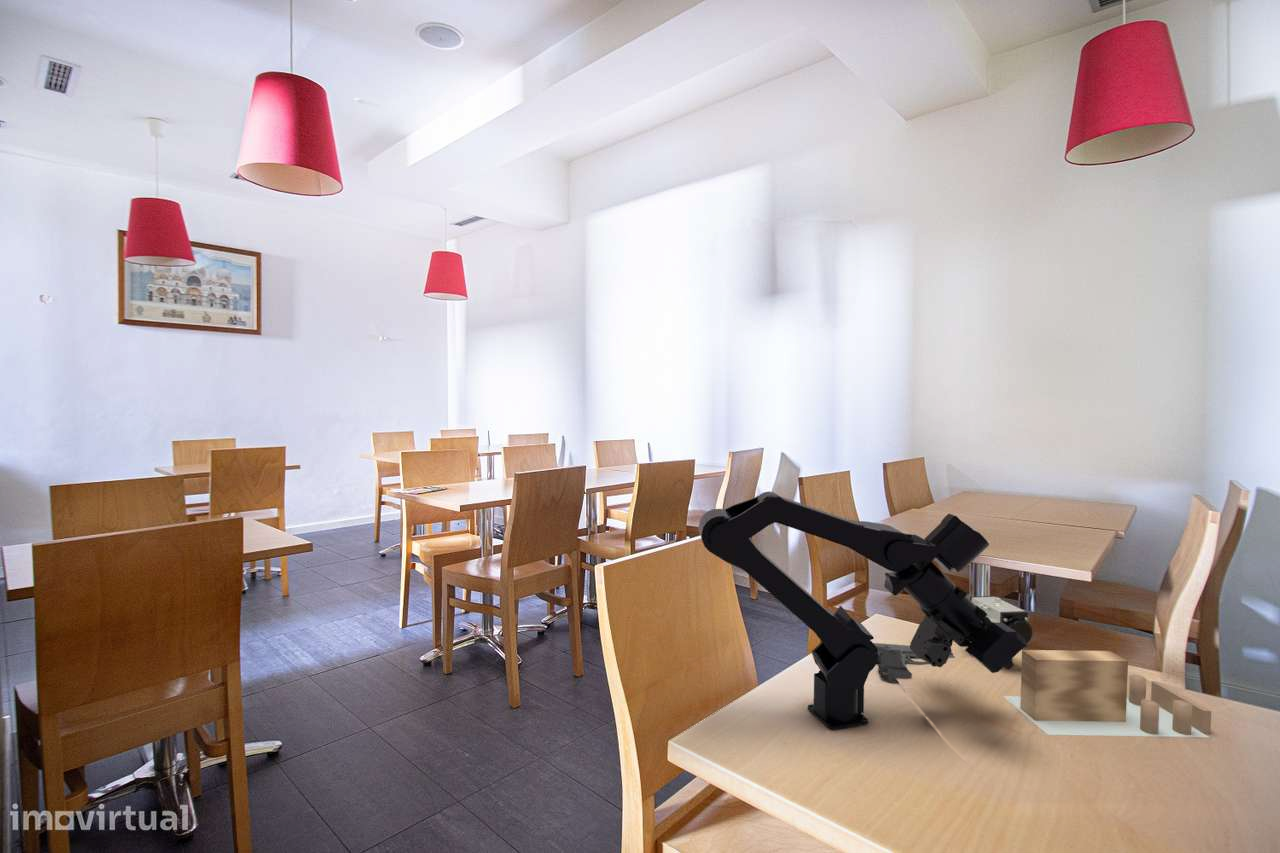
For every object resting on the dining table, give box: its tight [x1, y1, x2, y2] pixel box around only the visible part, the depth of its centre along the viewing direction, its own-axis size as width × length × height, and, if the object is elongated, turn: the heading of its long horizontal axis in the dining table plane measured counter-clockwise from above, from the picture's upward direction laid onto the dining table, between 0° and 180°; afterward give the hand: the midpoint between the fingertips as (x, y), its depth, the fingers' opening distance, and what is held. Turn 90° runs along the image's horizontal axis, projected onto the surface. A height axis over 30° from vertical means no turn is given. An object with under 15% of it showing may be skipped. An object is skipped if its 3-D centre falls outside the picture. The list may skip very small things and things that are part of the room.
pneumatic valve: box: [969, 595, 1033, 648], centre depth 109 cm, size 6×12×12 cm, turn 6°
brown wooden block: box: [1020, 649, 1129, 722], centre depth 90 cm, size 13×4×9 cm, turn 88°
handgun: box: [873, 642, 956, 683], centre depth 107 cm, size 3×16×12 cm
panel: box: [1002, 673, 1212, 739], centre depth 90 cm, size 23×11×5 cm, turn 88°
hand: (1009, 666), depth 90 cm, fingers closed
